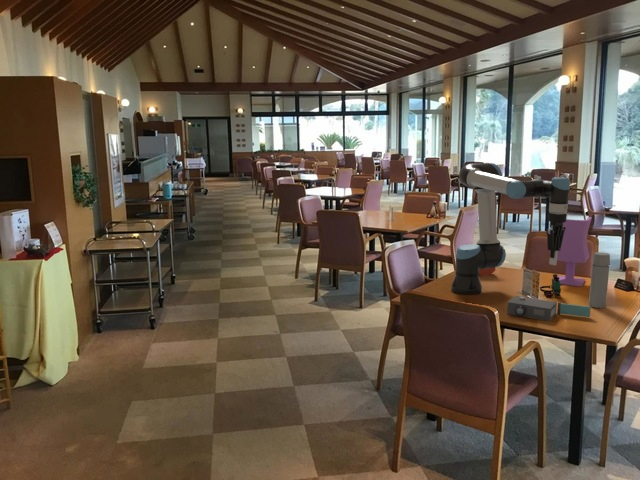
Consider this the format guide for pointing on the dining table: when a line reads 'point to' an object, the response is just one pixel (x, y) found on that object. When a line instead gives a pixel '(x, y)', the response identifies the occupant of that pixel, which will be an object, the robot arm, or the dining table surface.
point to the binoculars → (553, 288)
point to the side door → (573, 310)
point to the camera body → (532, 308)
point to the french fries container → (486, 271)
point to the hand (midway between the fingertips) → (552, 264)
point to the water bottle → (599, 280)
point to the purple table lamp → (574, 249)
